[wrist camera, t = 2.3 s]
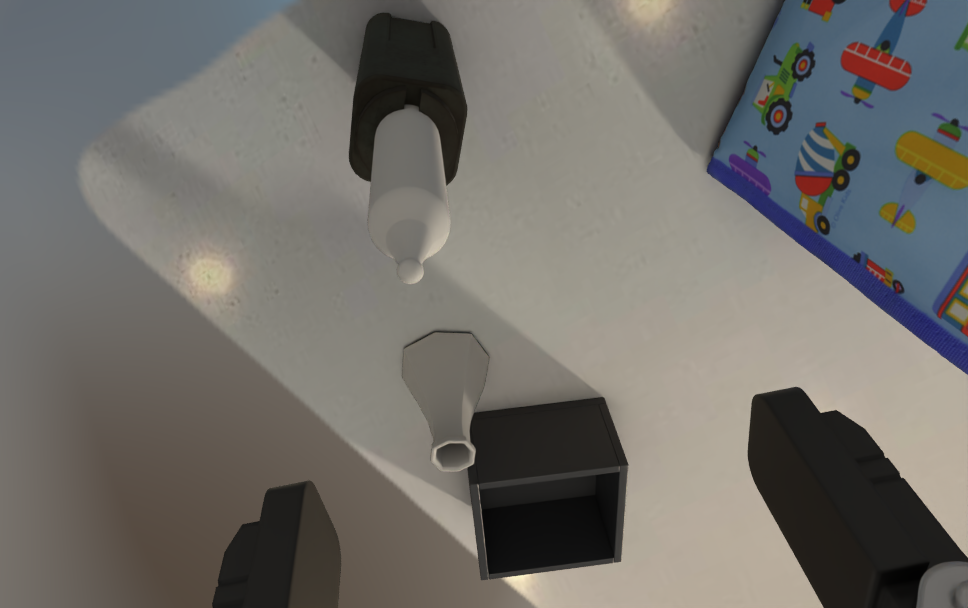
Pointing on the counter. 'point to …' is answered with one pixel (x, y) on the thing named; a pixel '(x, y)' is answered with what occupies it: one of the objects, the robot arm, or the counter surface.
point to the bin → (547, 488)
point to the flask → (447, 392)
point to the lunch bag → (866, 152)
